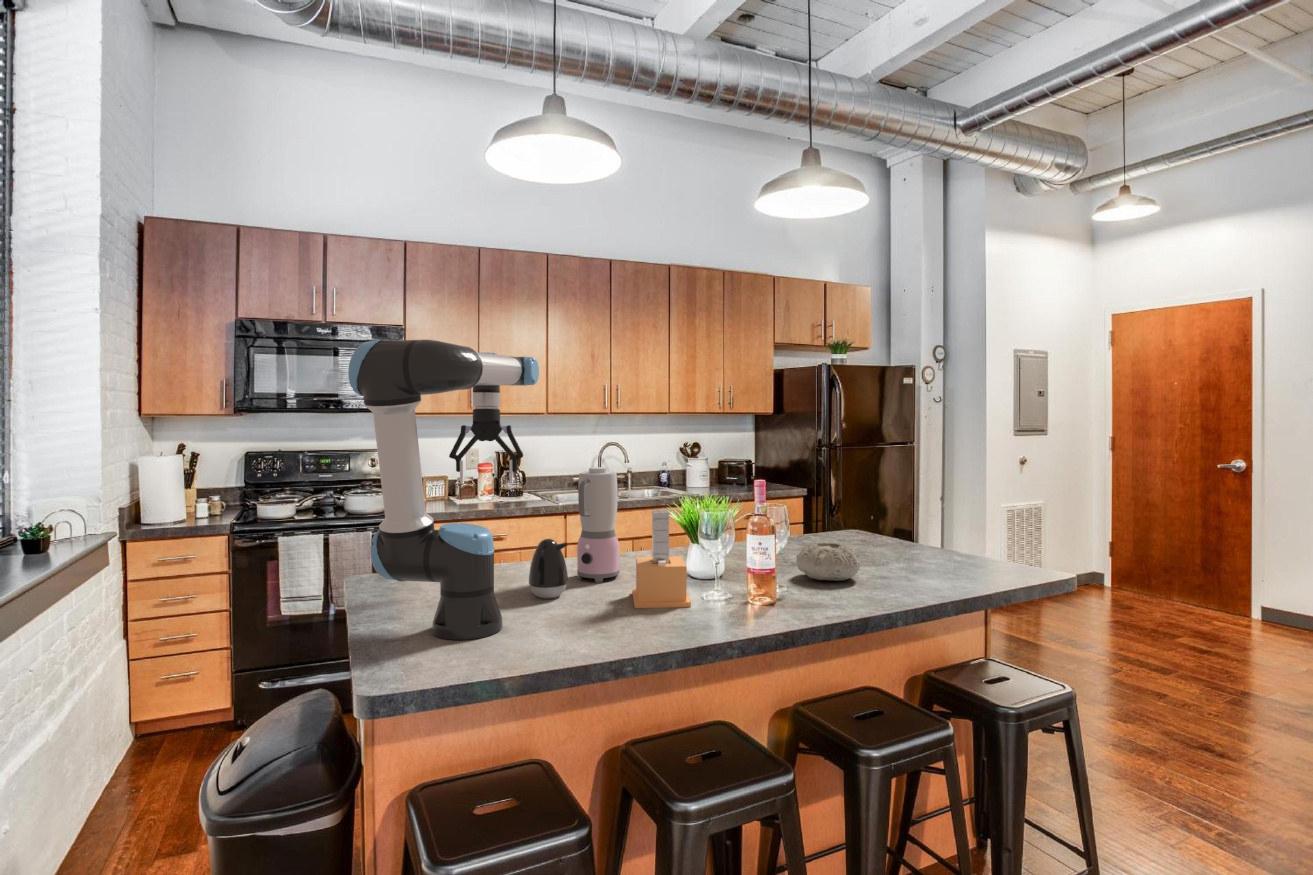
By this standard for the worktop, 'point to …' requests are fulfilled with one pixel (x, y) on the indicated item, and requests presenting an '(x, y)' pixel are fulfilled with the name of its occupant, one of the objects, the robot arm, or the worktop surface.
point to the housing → (660, 583)
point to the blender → (597, 524)
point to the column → (660, 536)
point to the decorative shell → (828, 561)
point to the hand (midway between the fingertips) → (486, 483)
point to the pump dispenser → (548, 570)
